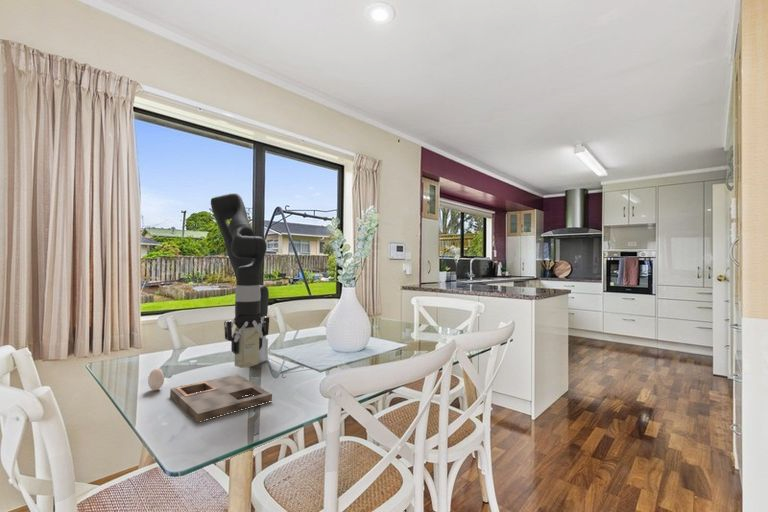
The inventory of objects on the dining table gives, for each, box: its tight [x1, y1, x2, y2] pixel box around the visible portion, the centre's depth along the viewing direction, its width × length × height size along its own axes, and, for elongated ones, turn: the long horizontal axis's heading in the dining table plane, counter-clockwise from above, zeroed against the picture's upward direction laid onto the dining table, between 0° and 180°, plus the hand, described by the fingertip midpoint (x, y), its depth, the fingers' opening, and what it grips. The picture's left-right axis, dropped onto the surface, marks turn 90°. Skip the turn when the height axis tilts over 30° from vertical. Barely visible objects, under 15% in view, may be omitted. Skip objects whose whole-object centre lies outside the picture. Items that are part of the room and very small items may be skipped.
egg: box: [147, 367, 165, 391], centre depth 124 cm, size 5×5×7 cm
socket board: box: [169, 373, 273, 423], centre depth 118 cm, size 22×26×3 cm
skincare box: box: [234, 327, 260, 369], centre depth 116 cm, size 6×4×12 cm
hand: (247, 351), depth 116 cm, fingers closed on skincare box, 7 cm apart
